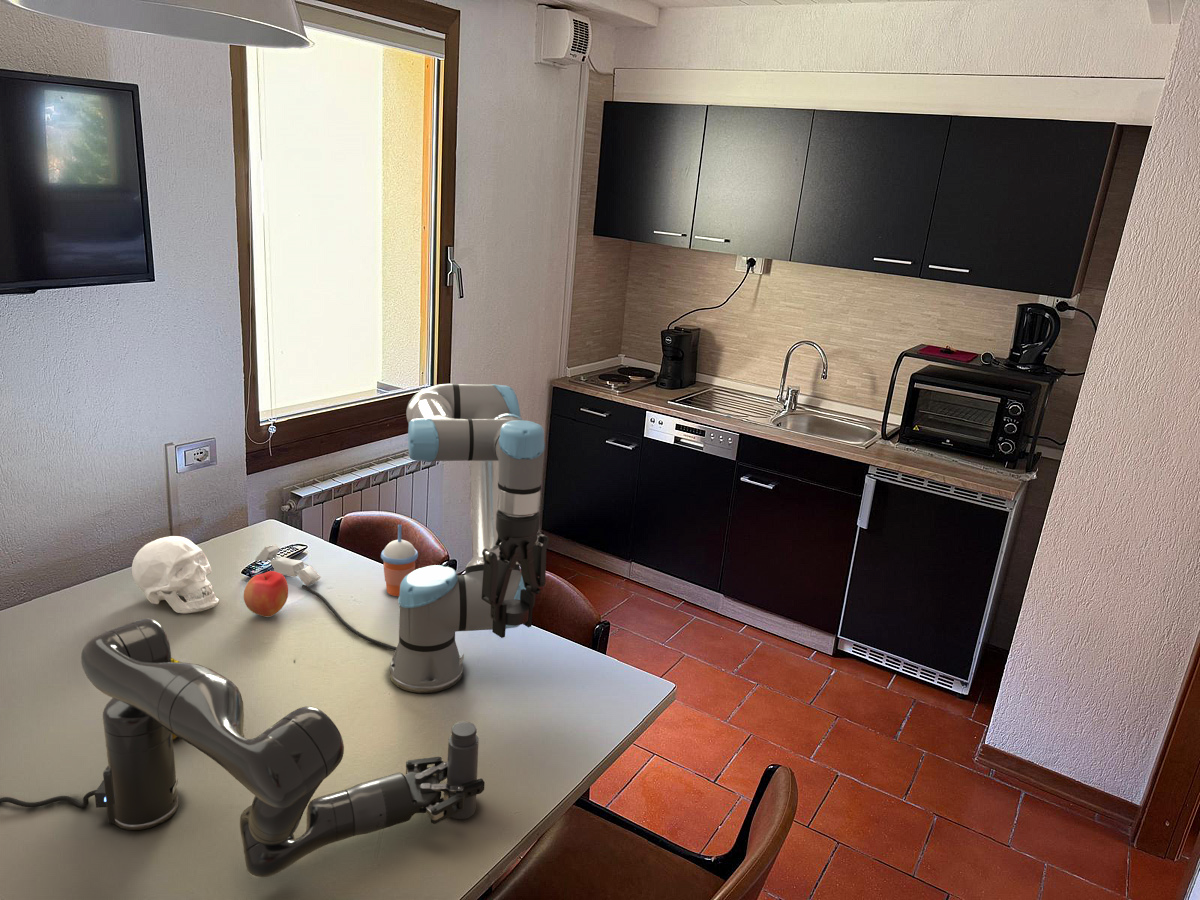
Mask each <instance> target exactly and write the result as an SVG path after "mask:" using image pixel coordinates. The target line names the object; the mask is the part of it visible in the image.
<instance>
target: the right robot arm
mask: <svg viewBox="0 0 1200 900" xmlns="http://www.w3.org/2000/svg"><path fill="white" fill-rule="evenodd" d="M405 414H406V421H407V423H408V429H407V450H408V457H409V458H410V460H412V461H416V462H417V461H418V462H427V463H431V462H455V461H456V462H457V461H459V462H460V461H462V462H463V461H464V462H465V461H467V462H468V464H469V465H468V466H469V467H468V469H469V499H470V529H471V530H470V531H471V559H470V561H469V562H468V563H467V564H466V565H465V569H464V571H465V574H459V575H458V572H457V571H456V570H455V569H454V568H453V567H450V566H447V565H446V566H445V565H442V564H441V565H440V564H439V565H438V564H437V565H436V564H434V565H426V566H422V567H419V568H415V570H414V571H412V572H411V573H409V574H408V575H406V576H405V577H404V579H403V580H402V582H401V584H400V595H399V596H398V598H397V601H398V605H399V611H398V612H399V616H398V643H397V645H396V646H394V645H390V644H387V643H385V642H382V641H380V640H376V639H374V638H371V637H369V636H367V635H365V634H364V633H361V632H360V631H358V630H357V629H356V628H354V627H352V626H351V625H350V623H347V621H345V620H344V618H342V616H341V615H340V614H339V613H338V611H337V610H336V609H335V608H334V607H333V606H332V604H331V603H330V602H329V600H328V599H326V598H325V597H324V596H323V595H321V594H320V593H319V592H318V591H316V590H315V589H313V588H311V587H309V586H306V585H305V584H304V583H303V584H302V585H301V587H302V589H304V590H305V591H308V592H309V593H311V594H313V595H314V596H316V597H317V598H318V599H319V600H320V601H321V602H323V603H324V604H325V606H326V607H327V608H328V610H330V612H331V613H332V614H333V615H334V616H335V618H336V619H337V620H338V621H339V622H340V624H342V625H343V626H344V628H346V629H348V631H349V632H351V633H352V634H354V635H356V636H357V637H359V638H361V639H362V640H364V641H367V642H369V643H371V644H374V645H376V646H379V647H382V648H385V649H387V650H391V651H394V653H393V656H392V659H391V660H390V666H389V679H390V681H391V682H392V683H393V684H394V685H395V686H396V687H398V688H399V689H401V690H404V691H407V692H410V693H416V694H430V693H431V694H432V693H438V692H441V691H445V690H447V689H450V688H451V687H453V686H455V685H456V684H457V683H458V682H459V681H460V680H461V679H462V676H463V672H464V664H463V661H464V659H465V657H464V656H465V654H464V653H463V654H462V655H461V656H460V653H459V649H458V646H457V642H456V633H457V632H473V631H474V632H475V631H492V633H493V634H494V635H496V636H497V637H499V638H500V639H503V638H505V637H506V629H515V628H518V627H519V626H520V625H516V626H511V625H506V610H507V604H506V603H504V602H503V601H504V600H508V599H517V600H522V601H524V602H526V603H527V604H528V605H529V615H528V621H527V622H526V623H524V624H522V625H523V626H525V627H526V628H532V623H533V609H534V607H535V606H536V595H539V594H541V591H542V590H541V589H540V588H543V587H545V585H546V577H547V575H546V574H547V573H546V572H547V550H548V545H549V541H550V537H549V536H547V535H545V534H543V533H541V532H539V531H540V518H541V513H540V512H539V511H540V510H541V504H542V503H541V502H542V481H543V480H542V479H543V469H544V467H543V465H544V453H545V449H546V443H545V430H544V427H543V426H542V425H541V424H539V423H536V422H534V421H532V420H525V419H523V418H521V417H522V416H521V409H520V403H519V399H518V396H517V394H516V391H515V390H514V389H513V388H512V387H511V386H509V385H504V384H495V383H491V384H482V383H481V384H476V383H475V384H474V383H472V384H470V383H442V384H436V385H432V386H429V387H426V388H424V389H422V390H421V391H419V392H417V393H415V394H414V395H413V396H412V397H411V399H410V400H408V403H407V406H406V411H405Z"/></svg>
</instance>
